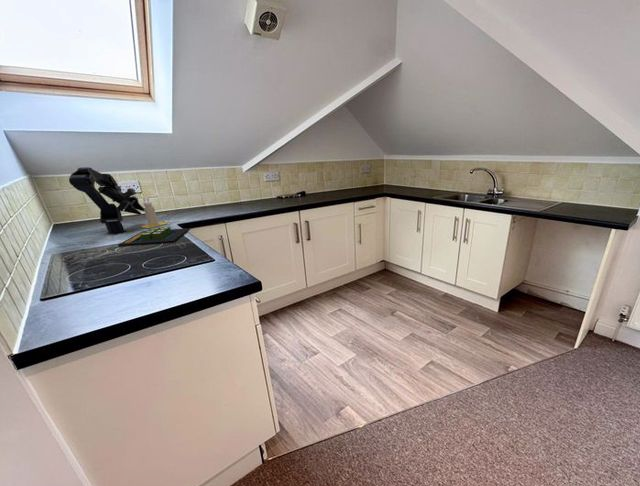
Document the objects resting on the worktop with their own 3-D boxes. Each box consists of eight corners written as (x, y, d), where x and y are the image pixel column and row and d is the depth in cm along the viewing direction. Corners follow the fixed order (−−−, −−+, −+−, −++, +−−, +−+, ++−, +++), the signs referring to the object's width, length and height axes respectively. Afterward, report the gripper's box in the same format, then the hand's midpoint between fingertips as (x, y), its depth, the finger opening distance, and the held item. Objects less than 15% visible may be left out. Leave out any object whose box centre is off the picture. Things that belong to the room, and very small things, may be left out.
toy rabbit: (157, 225, 183) (148, 198, 176) (147, 226, 182) (138, 198, 175) (160, 223, 187) (152, 196, 181) (151, 224, 186) (142, 197, 180)
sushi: (142, 232, 169) (140, 226, 168) (190, 229, 174) (188, 223, 172) (118, 246, 147) (116, 239, 145) (174, 242, 151) (172, 235, 150)
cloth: (148, 228, 178) (148, 227, 178) (140, 227, 181) (140, 226, 181) (168, 223, 188) (167, 223, 188) (160, 222, 191) (160, 222, 191)
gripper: (116, 186, 163) (146, 205, 171) (128, 182, 179) (155, 199, 187) (105, 202, 164) (135, 219, 172) (117, 196, 180) (144, 213, 188)
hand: (143, 212), depth 180 cm, fingers open, 9 cm apart
